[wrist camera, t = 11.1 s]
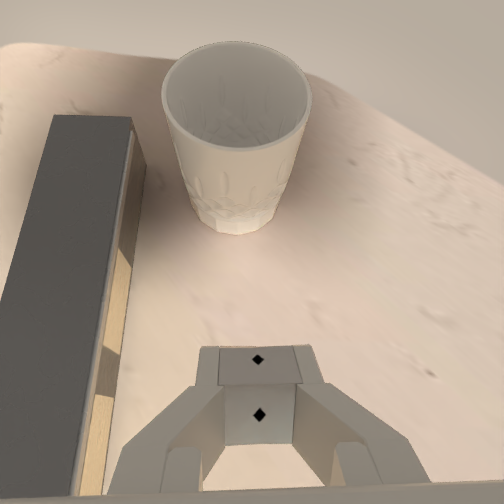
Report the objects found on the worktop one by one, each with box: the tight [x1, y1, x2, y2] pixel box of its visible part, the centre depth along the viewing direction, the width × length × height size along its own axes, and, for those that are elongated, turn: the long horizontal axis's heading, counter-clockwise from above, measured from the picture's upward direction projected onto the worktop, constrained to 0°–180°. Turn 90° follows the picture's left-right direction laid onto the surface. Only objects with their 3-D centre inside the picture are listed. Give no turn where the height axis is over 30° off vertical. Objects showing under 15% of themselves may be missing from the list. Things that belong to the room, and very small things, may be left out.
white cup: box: [161, 41, 312, 235], centre depth 24 cm, size 8×8×10 cm
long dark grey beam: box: [0, 115, 146, 499], centre depth 22 cm, size 5×24×5 cm, turn 1°
